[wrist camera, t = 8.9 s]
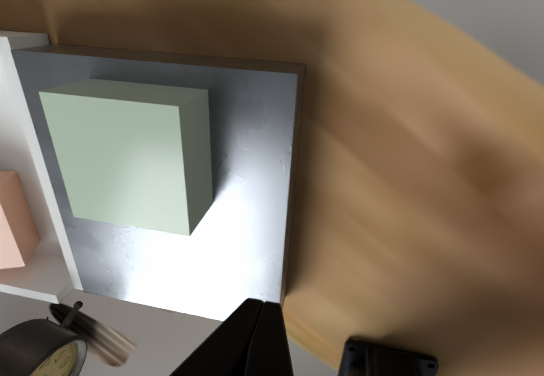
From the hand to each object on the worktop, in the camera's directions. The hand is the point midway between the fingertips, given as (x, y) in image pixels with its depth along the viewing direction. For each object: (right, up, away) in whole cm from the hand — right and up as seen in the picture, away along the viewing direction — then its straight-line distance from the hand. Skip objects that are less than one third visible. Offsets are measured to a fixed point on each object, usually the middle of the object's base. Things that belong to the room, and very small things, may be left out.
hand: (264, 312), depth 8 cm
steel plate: (-5, +3, +13) cm, 15 cm away
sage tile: (-6, +5, +9) cm, 12 cm away
